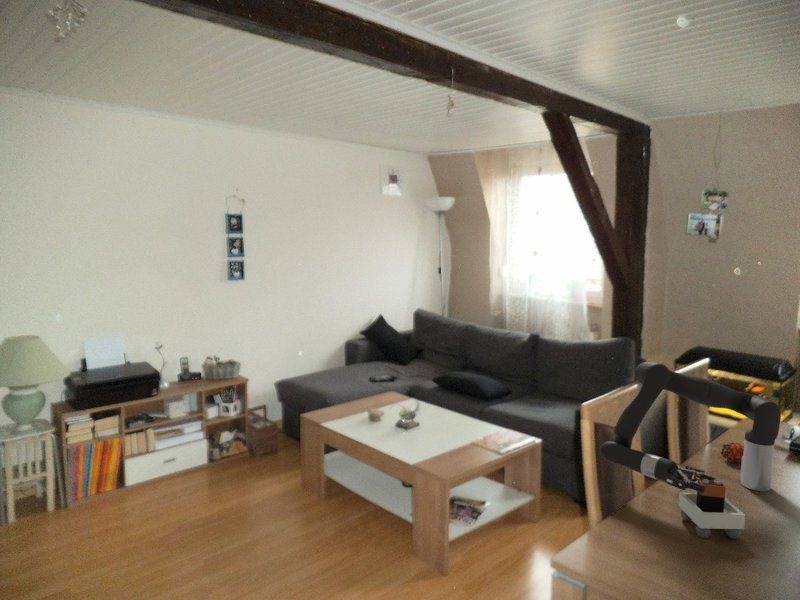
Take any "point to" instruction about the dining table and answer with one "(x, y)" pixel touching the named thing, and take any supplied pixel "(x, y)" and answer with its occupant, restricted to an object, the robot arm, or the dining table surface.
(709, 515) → the cart
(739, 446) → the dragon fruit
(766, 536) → the dining table surface
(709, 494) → the battery
